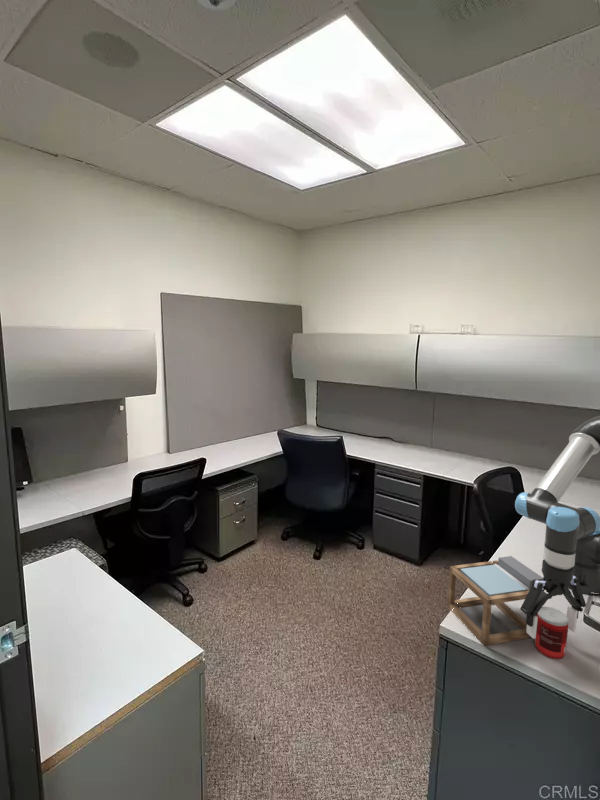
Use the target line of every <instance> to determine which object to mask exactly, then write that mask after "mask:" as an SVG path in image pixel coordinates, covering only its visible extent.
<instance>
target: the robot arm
mask: <svg viewBox="0 0 600 800" xmlns="http://www.w3.org/2000/svg"><path fill="white" fill-rule="evenodd" d="M568 441H569V442H568V444H567V445H566V446H565V447H564V449H563V450H562V452H561V453H560V454H559V455H558V456H557V458H556V459H555V461H554V462H553V463H552V464H551V467H550V468H549V469H548V470H547V472H546V473H545V474H544V475H543V477H542V478H541V479H540V481H539V482H538V484H537V485H536V486H535V488H534V489H533V490H532V491H531V493H530V492H525V491H523V492H520V493H519V494H518V495H517V496H516V499H515V501H514V508H515V511H516V512H517V514H519V515H521V516H523V517H525V518H527V519H529V520H533V521H535V522H540V523H542V524H544V525H545V536H544V538H545V539H544V545H543V554H542V555H543V557H542V558H543V559H542V564H541V573H542V575H543V576H542V578H543V579H542V581H538V580H536V579H534V580H533V582H532V587H531V589H530V591H529V593H528V594H527V596H526V598H525V599H523V603H522V605H521V607H520V608H519V610H520V611H521V612H523V614H524V615H525V621H526V624H527V629H526V633H527V634H529V635H530V636H531V637H532V640H533V639H534V640H535V638H536V630H537V620H538V617H537V616H536V614H537V613H538V612H539V610H540V609H541V608H542V607H544V606H545V604H546V602H547V601H548V600H551V599H552V598H553V597H556V596H564V598H565V599H566V600H567V603H568V604H569V605H567V608H566V609H567V610H566V616H567V617H568V620H569V624H568V630H569V631H571V632H572V633H576V629H577V622H578V621H577V620H578V618H579V612H581V613H582V612H583V611H584V608H586V607H587V603H586V600H585V598H584V594H587V595H590V594H589V593H591V592H594V593H600V515H599V513H598V512H596V511H595V510H594V509H593V508H590V507H586V506H585V507H577V508H576V507H573V506H570V505H566V504H563V503H560V500H562V499H561V498H562V497H563V496H564V495H565V493H566V492H567V491H568V490H569V488H570V486H571V485H572V484H573V482H574V481H575V479H576V478H577V476H578V475H579V474H580V472H581V471H583V468H584V467H585V466H586V464H587V462H589V460H590V459H591V457H592V456H594V455H596V454H598V453H599V452H600V415H597V416H595V417H592V418H591V419H588V420H586V421H584V422H583V423H581V424H580V425H579V426H577V427H576V428H575V429H574V430H573V431H572V432H571V434H570V435H569V438H568ZM570 589H571V590H570ZM532 610H533V611H532Z"/></svg>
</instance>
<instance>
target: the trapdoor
mask: <svg viewBox="0 0 600 800" xmlns="http://www.w3.org/2000/svg"><path fill="white" fill-rule="evenodd" d="M497 561H498V565H497V564H494V565H487V566H479V567H471V568H464V569H460V572H461V573H463V574H464V575H465V576H466V577H467V578H468V579H469V580H470V581H472V582H473V583H474V584H475V585H476V586H477V587H478V588H479V589H481V590H482V591H483V592H484V593H485V594H486V595H487V596H495V595H502V594H509V593H516V592H523V591H529V590H530V589H531V587H532V582H533V580H534V579H536V580H538V581H542V579H543V576H541V575H539V574H538V573H537V572H535V571H534V570H532V569H531V568H529V567H528V566H527V565H525V564H524V563H522V562H521V561H519V560H518V559H516V558H515V557H513V556H512V555H509V556H501V557H500V556H499V557H498V560H497Z"/></svg>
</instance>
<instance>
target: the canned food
mask: <svg viewBox="0 0 600 800" xmlns="http://www.w3.org/2000/svg"><path fill="white" fill-rule="evenodd" d="M537 617H538V620H537V630H536V638H535V639H534V640H535V641H534V644H535V648H536V650H538V652H539V653H540V654H542V655H543V656H545V657H547V658H550V659H554V660H561V659H563V658H564V657H565V655H566V651H567V641H568V634H569V633H568V631H569V629H568V624H569V620H568V617H567V614H566V613H564V612H563V611H561V610H560V609H556V608H554V607H550V606H542V608H541V609H540V610H539V612H538V614H537Z"/></svg>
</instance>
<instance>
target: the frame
mask: <svg viewBox="0 0 600 800" xmlns="http://www.w3.org/2000/svg"><path fill="white" fill-rule="evenodd" d="M494 564H497V565H498V560H492V561H491V560H490V561H482V562H474V563H473V562H472V563H465V564H458V565H450V566H449V575H448V588H447V590H448V592H447V608H448V609H449V610H450V611H451V612H452V613H453V614H454V615H455V616H456V618H459V619H460V620H461V621H462V622H463V623H462V622H461V621H460V620H459V619H458V620H459V621H460V622H461V623H462V624H463V625H464V624H465V625H464V627H466V626H467V627H466V629H468V631H469V632H470V633H473V634H474V635H475V636H476V637H475V636H474V635H473V634H472V635H473V636H474V637H475V638H476V639H477V640H478V642H480V644H482V646H491V645H498V644H502V643H508V642H512V641H513V642H515V641H521V640H525V639H531V638H532V637H531V636H530V635H529V634H527V633H526V629H527V624H526V619H524V618H522V617H521V616H520V615H518V614H517V612H515V611H514V610H513V609H512V608H511V607H509V605H507V604H506V603H508V602H515V601H524V600H525V598H526V596H527V594H528V593H529V591H530V590H529V591H523V592H516V593H509V594H502V595H495V596H487V595H486V594H485V593H484V592H483V591H482V590H481V589H479V588H478V587H477V586H476V585H475V584H474V583H473V582H472V581H470V580H469V579H468V578H467V577H466V576H465V575H464V574H463V573H461V572H460V569H464V568H471V567H479V566H487V565H494ZM456 579H458V580H459V581H460V582H461V583H462V584H464V585H465V586H466V587H467V588H468V589H469V590H470V591H471V592H472V593H473V594H474V595H476V596H473V597H467V598H460V599H461V600H460V599H459V598H458V599H455V598H456V597H455V596H456V583H457V582H456V581H457V580H456ZM457 603H458V604H457ZM492 605H495V606H496V607H497V608H498V609H499V610H500V611H501V612H502V613H503V614H505V615H506V616H507V617H508V618H509V619H511V621H512V622H514V623H515V624H516V625H517V626H518V627H519V628H521V629H517V630H516V629H515V630H511V629H509V628H508V626H506V625H505V624H504V623H503V622H502V621H501V620H500V619H499V618H498V617H497V616H495V615H494V614H493V613H492ZM453 608H454V609H453ZM452 609H453V611H452ZM532 611H533V610H532ZM537 614H538V613H537ZM537 614H536V616H537ZM532 639H533V638H532Z"/></svg>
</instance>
